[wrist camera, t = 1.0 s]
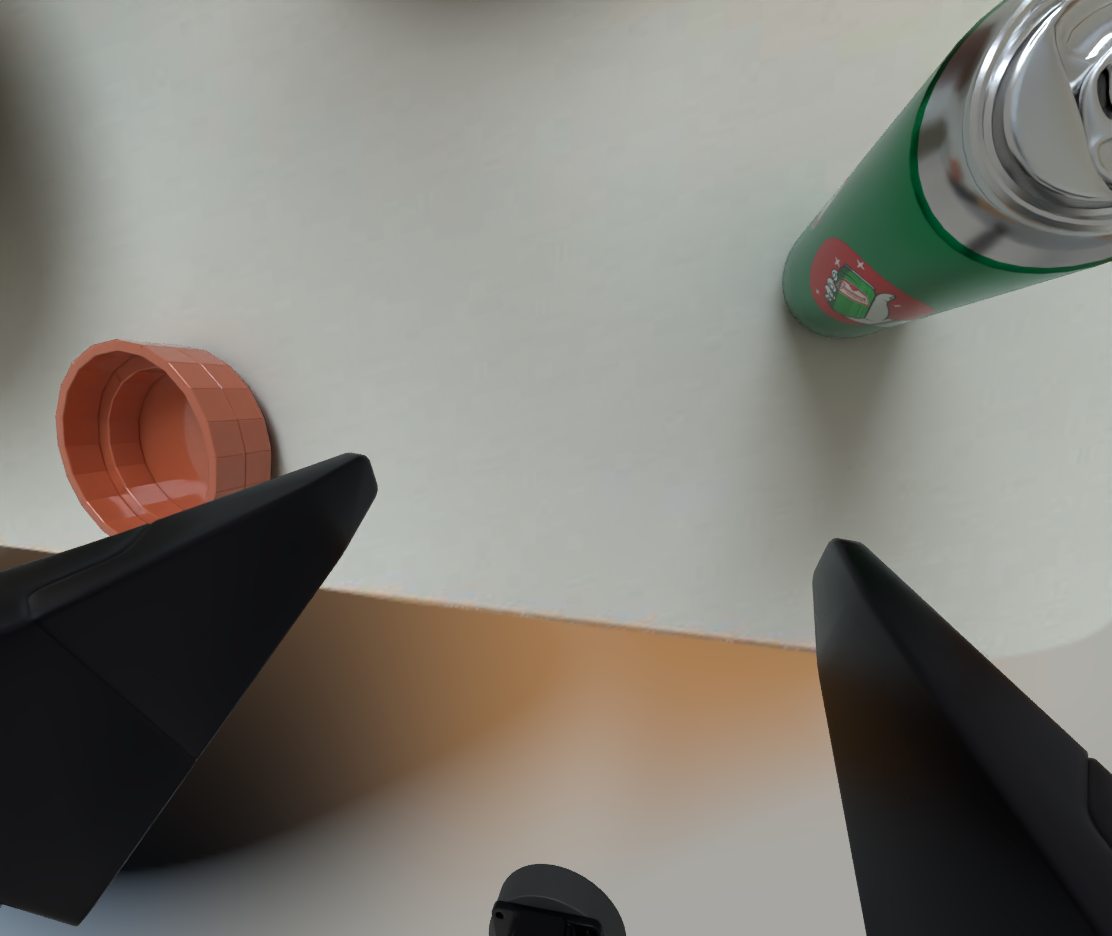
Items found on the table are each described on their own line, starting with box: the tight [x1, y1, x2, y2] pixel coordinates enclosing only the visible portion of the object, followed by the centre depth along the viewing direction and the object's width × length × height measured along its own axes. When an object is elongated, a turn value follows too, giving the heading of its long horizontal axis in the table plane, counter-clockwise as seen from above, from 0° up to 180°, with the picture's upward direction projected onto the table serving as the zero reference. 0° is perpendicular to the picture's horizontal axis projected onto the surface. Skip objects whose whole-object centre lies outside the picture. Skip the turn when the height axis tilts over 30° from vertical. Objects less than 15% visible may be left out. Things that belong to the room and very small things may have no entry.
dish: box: [56, 339, 271, 536], centre depth 27 cm, size 12×12×4 cm
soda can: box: [783, 0, 1112, 338], centre depth 12 cm, size 5×5×12 cm
